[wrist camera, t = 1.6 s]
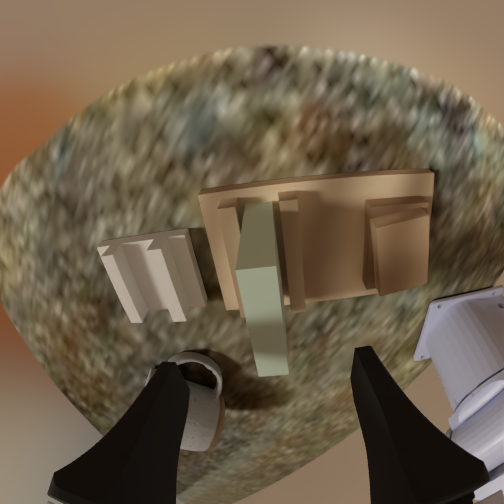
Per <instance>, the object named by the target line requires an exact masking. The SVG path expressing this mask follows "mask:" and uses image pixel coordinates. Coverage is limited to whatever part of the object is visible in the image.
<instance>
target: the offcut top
mask: <svg viewBox="0 0 504 504" xmlns="http://www.w3.org/2000/svg"><path fill="white" fill-rule="evenodd" d="M370 228H371V238H372V248H373V260H374V275H375V286H376V288H377V290H378V292H379V295H380V296H383V295H387V294H390V293H394V292H398V291H401V290H405V289H408V288H412V287H415V286H418V285H422V284H425V283H427V276H428V259H429V215H428V214H427V213H426V212H425V211H424V210H423V209H422V208H421V207H420V208H415V209H411V210H407V211H402V212H398V213H394V214H389V215H385V216H381V217H377V218H372V219H370Z"/></svg>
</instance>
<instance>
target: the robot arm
mask: <svg viewBox="0 0 504 504" xmlns="http://www.w3.org/2000/svg"><path fill="white" fill-rule="evenodd" d="M503 291H504V287H503V286H502V285H500V286H496V287H492V288H488V289H484V290H480V291H476V292H471V293H467V294H463V295H458V296H453V297H449V298H444V299H439V300H434V301H432V302H431V303H430V305H429V308H428V312H427V316H426V319H425V322H424V326H423V329H422V332H421V335H420V339H419V342H418V345H417V348H416V350H415V353H414V356H413V358H414V360H415V361H419V360H423V359H427V358H431V359H432V361H433V364H434V366H435V368H436V370H437V373H438V375H439V377H440V380H441V382H442V385H443V387H444V390H445V392H446V394H447V397H448V399H449V402H450V405H451V407H452V410H453V413H454V414H453V415H452V416H451V417H449V418H448V421H449V424H450V427H451V428H449V430H448V431H447V432H446V435H445V434H444V433H442V432H441V431H440V430H439V429H438V428H436V427H435V426H434V425H433V424H432V423H431V422H430V421H429V420H428V419H427V418H426V417H425V416H424V415H423V414H422V413H421V412H420V411H419V410H418V409H417V408H416V407H415V405H414V404H413V403H412V402H411V401H410V400H409V399H408V397H407V396H406V395H405V394H404V392H403V391H402V390H401V389H400V387H399V386H398V385H397V383H396V382H395V381H394V379H393V378H392V377H391V375H390V374H389V372H388V371H387V370H386V368H385V367H384V365H383V364H382V362H381V361H380V359H379V358H378V356H377V355H376V353H375V351H374V350H373V348H372V347H371V346H365V347H359V348H355V352H354V359H353V365H352V372H351V385H352V391H353V398H354V403H355V406H356V410H357V414H358V418H359V422H360V426H361V429H362V434H363V438H364V442H365V446H366V451H367V459H368V468H369V479H370V496H371V504H473V501H472V500H473V499H475V500H481V501H479V502H477V503H475V504H504V297H503V296H502V294H503ZM439 304H440V305H439ZM189 397H190V388H189V386H188V384H187V383H186V381H185V379H184V377H183V375H182V373H181V371H180V369H179V367H178V365H177V364H176V362H162V363H161V364H160V365H159V367H158V368H157V370H156V371H155V373H154V374H153V376H152V377H151V379H150V380H149V382H148V383H147V384H146V386H145V387H144V389H143V390H142V392H141V393H140V394H139V396H138V397H137V398H136V400H135V401H134V403H133V404H132V405H131V406H130V408H129V409H128V410H127V411H126V413H125V414H124V415H123V416H122V418H121V419H120V420H119V421H118V422H117V423H116V425H115V426H114V427H113V428H112V429H111V430H110V431H109V432H108V433H107V434H106V435H105V436H104V437H103V438H102V439H101V440H100V441H99V442H98V443H96V444H95V445H94V446H93V447H92V448H91V449H89V450H88V451H87V452H85V453H84V454H83V455H81V456H80V457H79V458H77V459H76V460H75V461H73V462H72V463H70V464H68V465H67V466H65V467H63V468H62V469H60V470H58V471H56V472H54V475H53V478H52V481H51V484H50V487H49V490H48V493H47V494H48V496H50V497H52V498H54V499H56V500H57V501H59V502H61V503H63V504H176V480H177V466H178V457H179V452H180V447H181V442H182V438H183V433H184V428H185V424H186V419H187V414H188V408H189ZM47 504H54V503H52V502H49V501H48V502H47Z"/></svg>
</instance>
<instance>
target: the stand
mask: <svg viewBox="0 0 504 504" xmlns="http://www.w3.org/2000/svg"><path fill="white" fill-rule="evenodd" d="M97 249H98V251H99V254H100V256H101V259H102V261H103V263H104V266H105V268H106V270H107V273H108V275H109V277H110V279H111V282H112V284H113V286H114V288H115V290H116V293H117V295H118V297H119V299H120V301H121V303H122V305H123V307H124V309H125V311H126V313H127V315H128V317H129V319H130V321H131V323H143V321H144V318H145V316H146V314H147V312H148V310H157V309H169V312H170V314H171V317H172V319H173V321H174V322H179V321H187V317H188V314H189V311H190V308H192V307H206V303H207V299H208V298H207V295H206V291H205V288H204V284H203V281H202V278H201V274H200V271H199V267H198V264H197V260H196V256H195V253H194V249H193V246H192V242H191V238H190V234H189V231H188V228H186V229H178V230H171V231H164V232H157V233H151V234H144V235H137V236H131V237H124V238H118V239H112V240H106V241H102V242H101V244H100V245H99V246H98V247H97Z"/></svg>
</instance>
